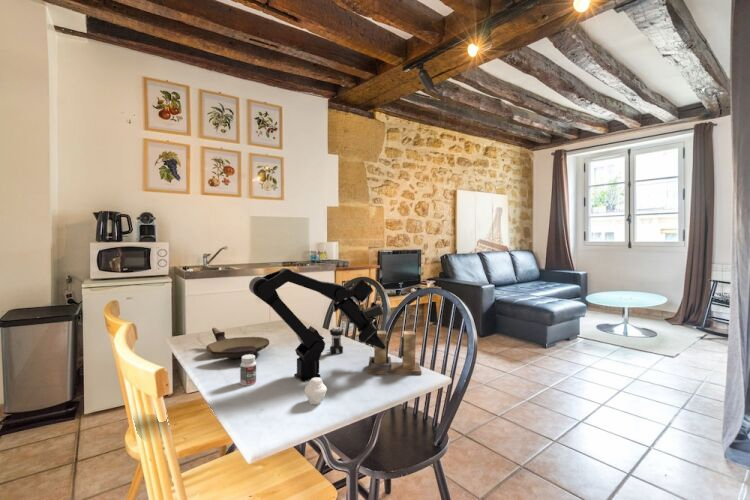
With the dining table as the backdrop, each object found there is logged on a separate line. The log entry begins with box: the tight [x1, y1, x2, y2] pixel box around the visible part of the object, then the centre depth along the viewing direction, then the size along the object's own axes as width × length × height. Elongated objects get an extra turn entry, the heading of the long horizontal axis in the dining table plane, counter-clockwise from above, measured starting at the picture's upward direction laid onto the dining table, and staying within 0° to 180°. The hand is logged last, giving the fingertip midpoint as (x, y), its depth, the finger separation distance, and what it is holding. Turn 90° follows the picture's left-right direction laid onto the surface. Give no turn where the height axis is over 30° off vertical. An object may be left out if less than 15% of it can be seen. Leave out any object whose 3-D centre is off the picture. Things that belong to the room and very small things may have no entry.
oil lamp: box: [206, 327, 270, 359], centre depth 138 cm, size 22×30×8 cm
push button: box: [325, 326, 344, 355], centre depth 140 cm, size 7×5×10 cm
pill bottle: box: [239, 354, 257, 387], centre depth 111 cm, size 5×5×8 cm
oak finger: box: [373, 330, 389, 364], centre depth 124 cm, size 5×4×12 cm
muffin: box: [304, 377, 328, 406], centre depth 99 cm, size 6×6×7 cm
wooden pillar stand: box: [367, 330, 422, 376], centre depth 124 cm, size 18×8×13 cm, turn 90°
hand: (384, 344), depth 123 cm, fingers open, 9 cm apart
